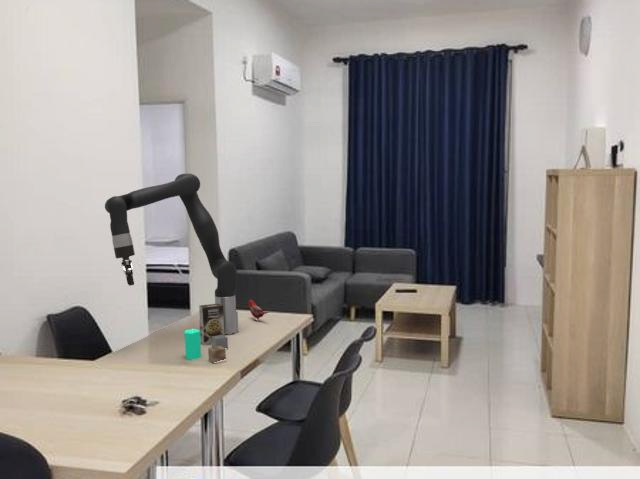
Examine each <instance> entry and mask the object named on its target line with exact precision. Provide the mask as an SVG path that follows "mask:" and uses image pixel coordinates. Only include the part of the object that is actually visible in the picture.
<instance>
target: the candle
mask: <svg viewBox="0 0 640 479" xmlns="http://www.w3.org/2000/svg"><path fill="white" fill-rule="evenodd" d="M201 344H202V343H201V340H200V329H198V328H197V329H195V328H191V329H186V330H184V347H185V348H184V349H185V359H186V360H197V359H201V358H202V345H201Z"/></svg>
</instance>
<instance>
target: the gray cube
mask: <svg viewBox="0 0 640 479" xmlns="http://www.w3.org/2000/svg"><path fill="white" fill-rule="evenodd" d="M211 338H212V344H211V347H217V346H221V347H223V348H228V349H229V346H228V345H229V344H228V336H227V335H218V336H212V337H211Z"/></svg>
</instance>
